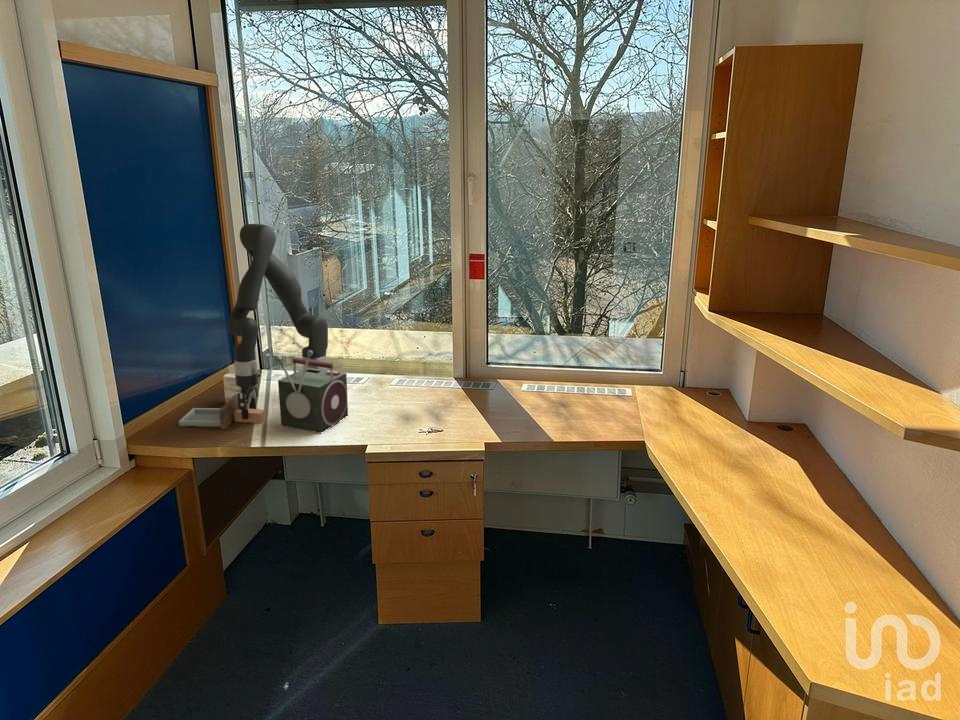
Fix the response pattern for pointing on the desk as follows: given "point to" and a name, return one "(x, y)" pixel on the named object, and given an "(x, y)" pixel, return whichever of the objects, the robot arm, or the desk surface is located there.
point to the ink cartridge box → (230, 384)
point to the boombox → (312, 396)
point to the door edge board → (228, 412)
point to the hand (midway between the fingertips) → (249, 414)
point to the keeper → (202, 418)
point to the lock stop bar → (251, 416)
